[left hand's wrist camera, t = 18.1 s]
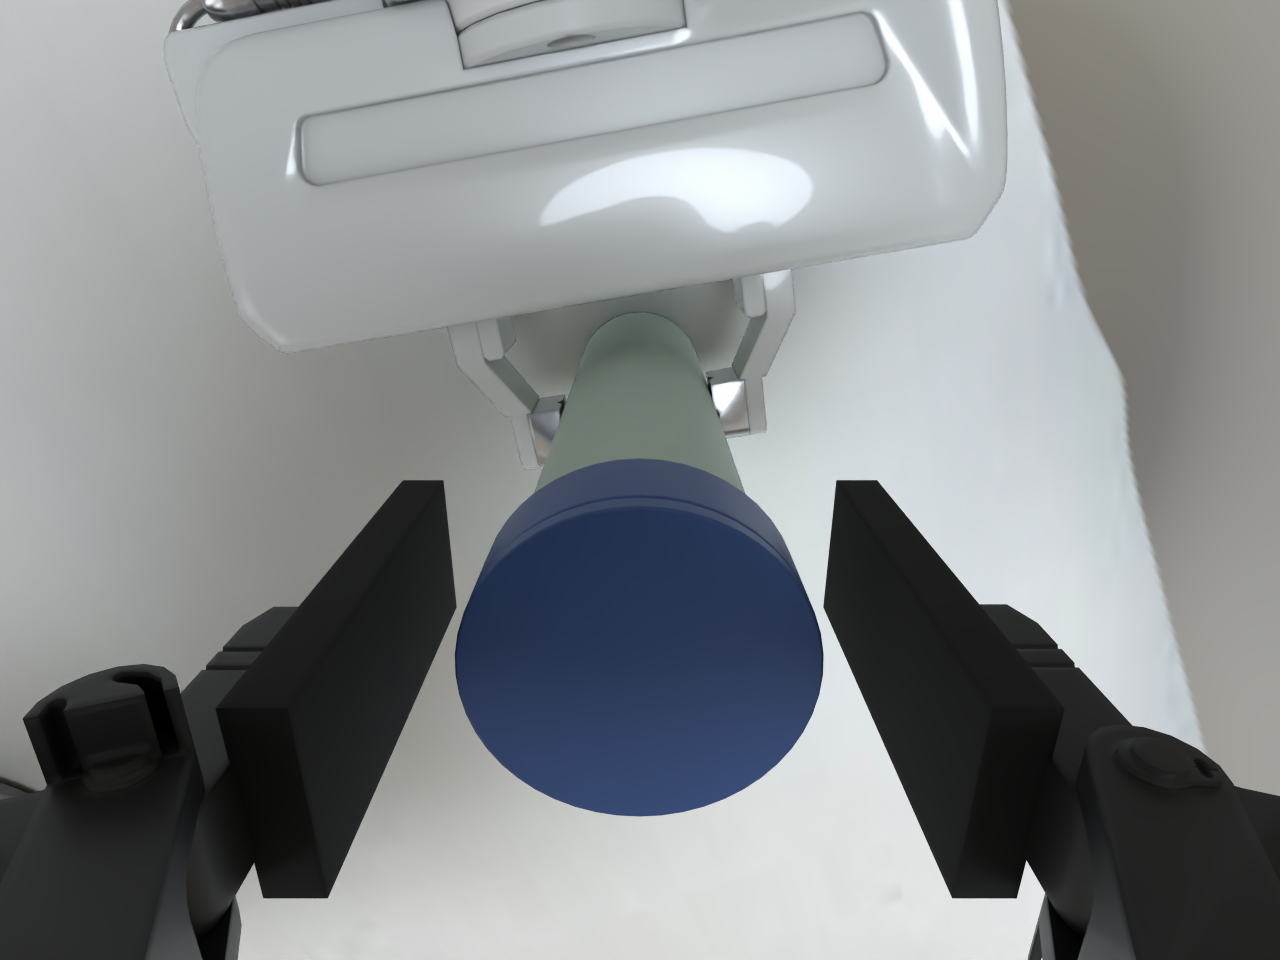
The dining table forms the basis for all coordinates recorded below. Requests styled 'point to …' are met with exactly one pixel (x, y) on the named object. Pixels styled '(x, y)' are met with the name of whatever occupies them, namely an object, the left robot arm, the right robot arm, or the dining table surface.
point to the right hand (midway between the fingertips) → (645, 446)
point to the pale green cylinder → (639, 403)
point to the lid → (639, 641)
